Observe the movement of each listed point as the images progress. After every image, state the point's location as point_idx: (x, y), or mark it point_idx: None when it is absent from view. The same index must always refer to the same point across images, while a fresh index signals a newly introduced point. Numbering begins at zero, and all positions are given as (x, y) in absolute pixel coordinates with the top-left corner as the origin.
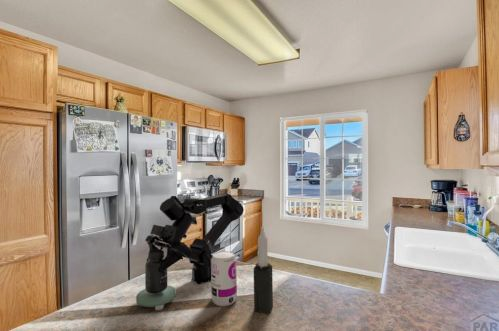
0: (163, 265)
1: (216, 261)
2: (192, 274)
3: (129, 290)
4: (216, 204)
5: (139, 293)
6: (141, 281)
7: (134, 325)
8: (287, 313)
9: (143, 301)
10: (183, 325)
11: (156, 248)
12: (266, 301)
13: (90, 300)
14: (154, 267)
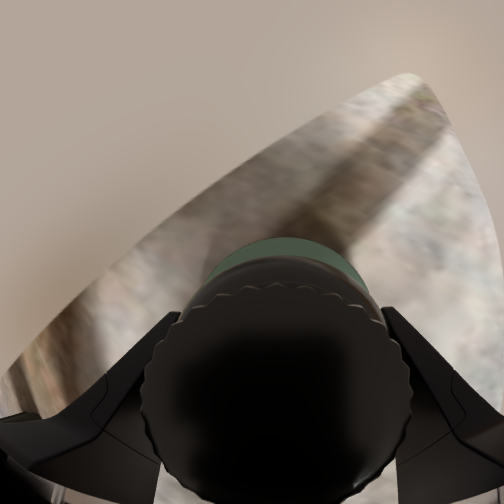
0: (134, 352)
1: None
2: None
3: (460, 305)
4: None
5: (353, 278)
6: (480, 371)
7: (211, 190)
8: None
9: (262, 247)
10: (95, 284)
11: (446, 492)
12: (6, 417)
13: (473, 184)
14: (196, 292)
